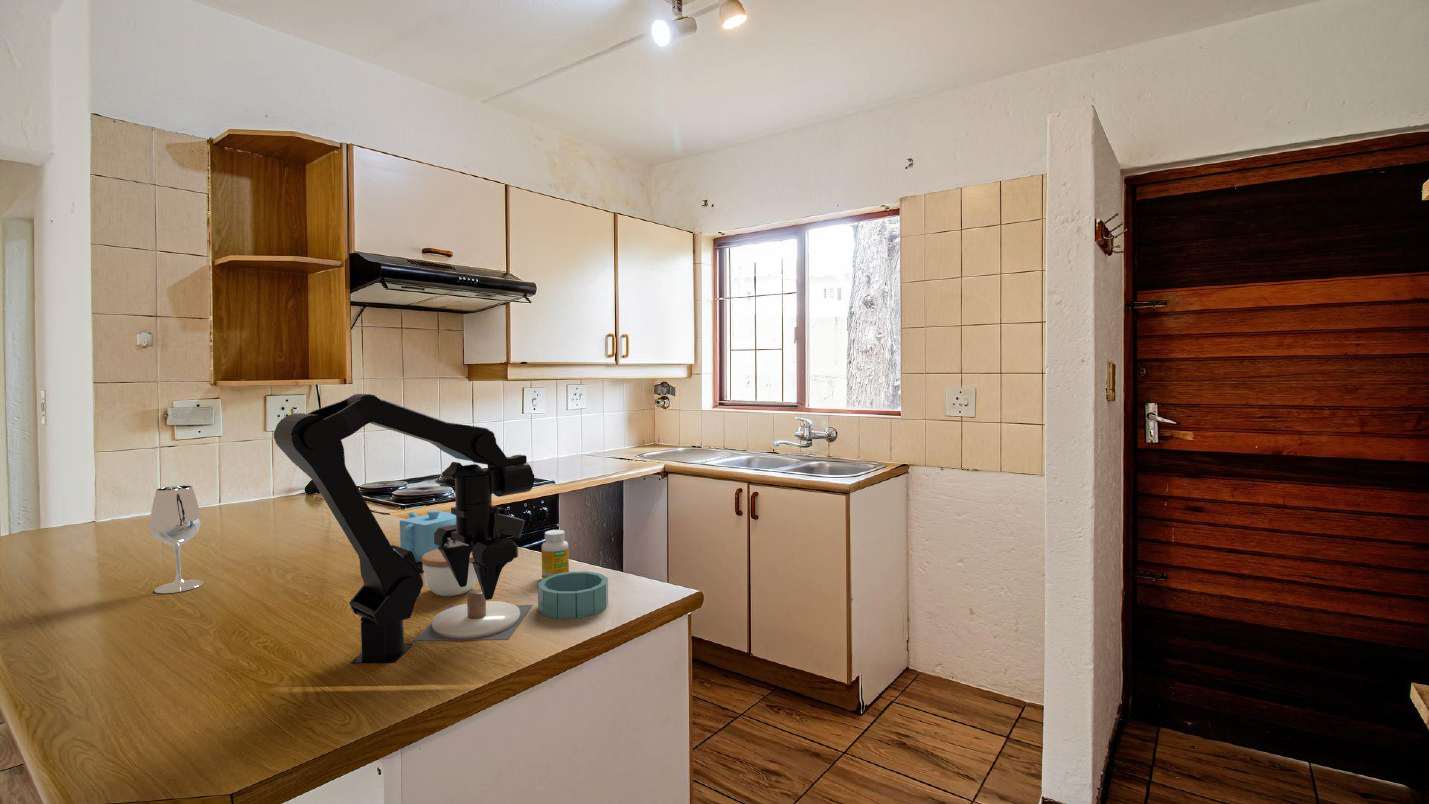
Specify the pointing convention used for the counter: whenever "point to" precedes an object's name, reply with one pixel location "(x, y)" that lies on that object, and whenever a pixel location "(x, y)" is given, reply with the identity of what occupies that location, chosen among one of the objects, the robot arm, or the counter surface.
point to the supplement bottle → (554, 554)
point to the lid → (475, 618)
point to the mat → (503, 635)
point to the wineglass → (175, 528)
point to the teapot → (423, 531)
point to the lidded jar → (445, 575)
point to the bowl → (573, 594)
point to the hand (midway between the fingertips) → (475, 592)
